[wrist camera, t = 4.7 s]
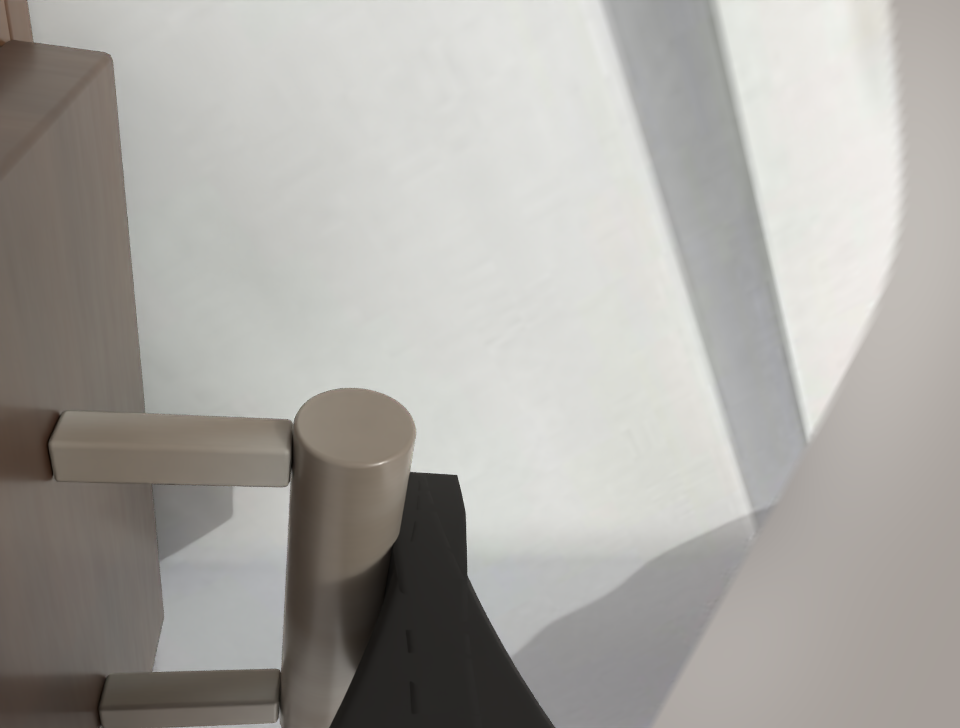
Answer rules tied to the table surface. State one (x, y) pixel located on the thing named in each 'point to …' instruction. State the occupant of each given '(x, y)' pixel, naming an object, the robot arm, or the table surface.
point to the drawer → (148, 454)
